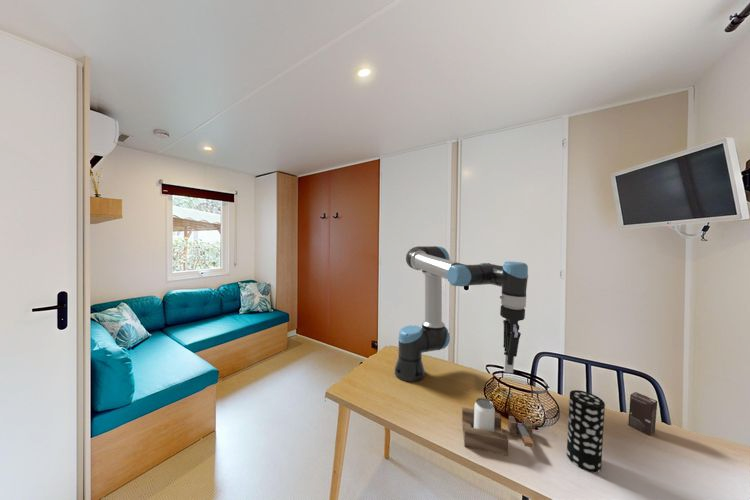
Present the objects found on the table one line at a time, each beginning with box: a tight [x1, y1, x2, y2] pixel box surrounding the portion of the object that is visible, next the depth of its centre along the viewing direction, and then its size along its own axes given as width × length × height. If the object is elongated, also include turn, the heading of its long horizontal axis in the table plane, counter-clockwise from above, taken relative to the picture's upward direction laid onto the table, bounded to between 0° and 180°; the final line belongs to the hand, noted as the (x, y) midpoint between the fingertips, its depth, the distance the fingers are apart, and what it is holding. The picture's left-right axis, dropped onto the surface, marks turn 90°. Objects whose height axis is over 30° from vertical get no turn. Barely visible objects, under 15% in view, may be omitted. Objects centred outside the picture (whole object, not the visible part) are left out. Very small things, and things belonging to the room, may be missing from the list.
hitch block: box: [461, 406, 533, 457], centre depth 87 cm, size 14×23×5 cm, turn 75°
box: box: [627, 391, 658, 436], centre depth 93 cm, size 6×4×12 cm
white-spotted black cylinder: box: [566, 389, 606, 473], centre depth 79 cm, size 8×8×20 cm
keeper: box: [516, 421, 535, 449], centre depth 86 cm, size 11×3×2 cm, turn 165°
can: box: [473, 397, 496, 432], centre depth 88 cm, size 6×6×12 cm
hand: (508, 371), depth 90 cm, fingers closed
